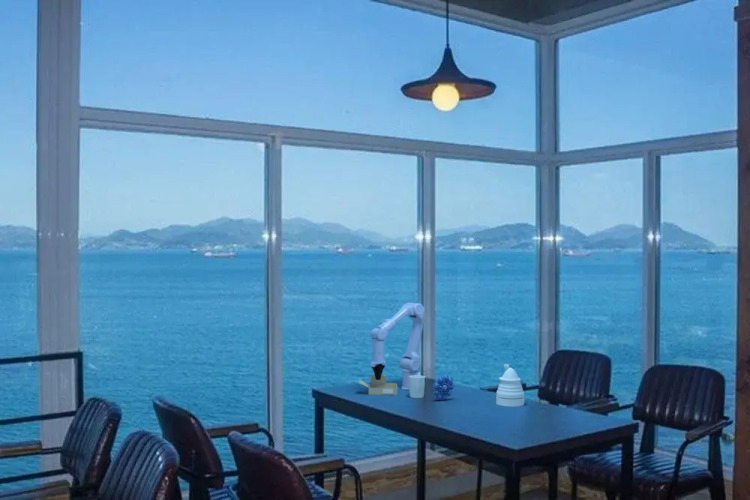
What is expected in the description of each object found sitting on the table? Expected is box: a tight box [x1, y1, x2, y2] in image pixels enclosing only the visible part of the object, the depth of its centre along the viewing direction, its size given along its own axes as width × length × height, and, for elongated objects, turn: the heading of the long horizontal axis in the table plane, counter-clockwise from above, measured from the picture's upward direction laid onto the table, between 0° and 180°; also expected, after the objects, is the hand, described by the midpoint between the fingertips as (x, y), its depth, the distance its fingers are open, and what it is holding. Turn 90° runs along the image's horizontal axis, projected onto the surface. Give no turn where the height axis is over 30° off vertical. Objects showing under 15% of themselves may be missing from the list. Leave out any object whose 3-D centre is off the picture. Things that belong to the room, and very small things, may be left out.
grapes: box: [432, 374, 455, 401], centre depth 366 cm, size 12×7×12 cm, turn 117°
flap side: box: [369, 374, 387, 383], centre depth 390 cm, size 8×1×5 cm
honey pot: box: [495, 363, 525, 408], centre depth 358 cm, size 13×13×18 cm
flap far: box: [358, 379, 369, 388], centre depth 382 cm, size 1×8×5 cm
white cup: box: [409, 374, 426, 399], centre depth 373 cm, size 8×8×10 cm
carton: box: [368, 382, 398, 396], centre depth 384 cm, size 14×14×4 cm
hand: (378, 379), depth 385 cm, fingers closed
